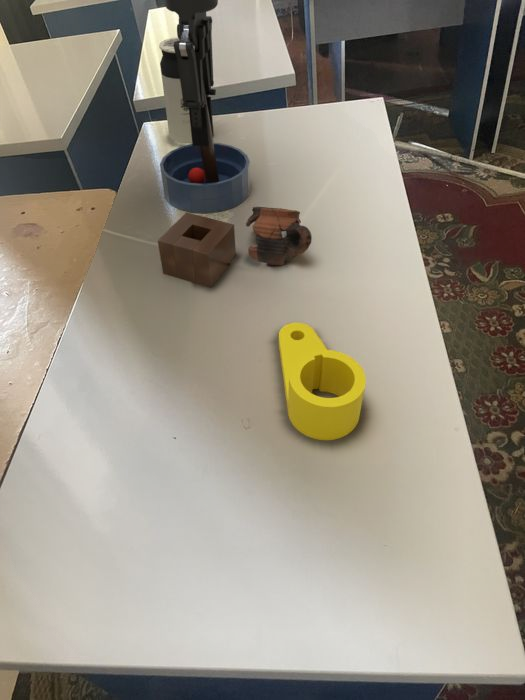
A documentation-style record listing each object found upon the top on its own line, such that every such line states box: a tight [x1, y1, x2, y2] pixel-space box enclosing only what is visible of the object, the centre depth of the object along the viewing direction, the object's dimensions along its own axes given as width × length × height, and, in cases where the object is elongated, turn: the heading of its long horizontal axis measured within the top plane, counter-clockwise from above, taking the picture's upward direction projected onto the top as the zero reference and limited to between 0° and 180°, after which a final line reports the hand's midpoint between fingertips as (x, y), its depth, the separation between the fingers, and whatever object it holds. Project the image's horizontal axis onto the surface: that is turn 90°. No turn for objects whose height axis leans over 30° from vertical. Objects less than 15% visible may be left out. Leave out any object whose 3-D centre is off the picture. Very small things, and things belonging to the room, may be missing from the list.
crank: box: [278, 322, 367, 441], centre depth 68 cm, size 18×8×6 cm, turn 14°
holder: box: [157, 211, 237, 289], centre depth 85 cm, size 8×8×6 cm
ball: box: [188, 168, 205, 184], centre depth 101 cm, size 3×3×3 cm
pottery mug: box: [245, 206, 313, 266], centre depth 88 cm, size 12×10×8 cm
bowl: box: [159, 142, 251, 214], centre depth 99 cm, size 15×15×6 cm
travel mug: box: [158, 36, 192, 145], centre depth 111 cm, size 8×8×18 cm
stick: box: [200, 81, 220, 184], centre depth 94 cm, size 2×2×18 cm
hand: (203, 140), depth 94 cm, fingers closed on stick, 2 cm apart
